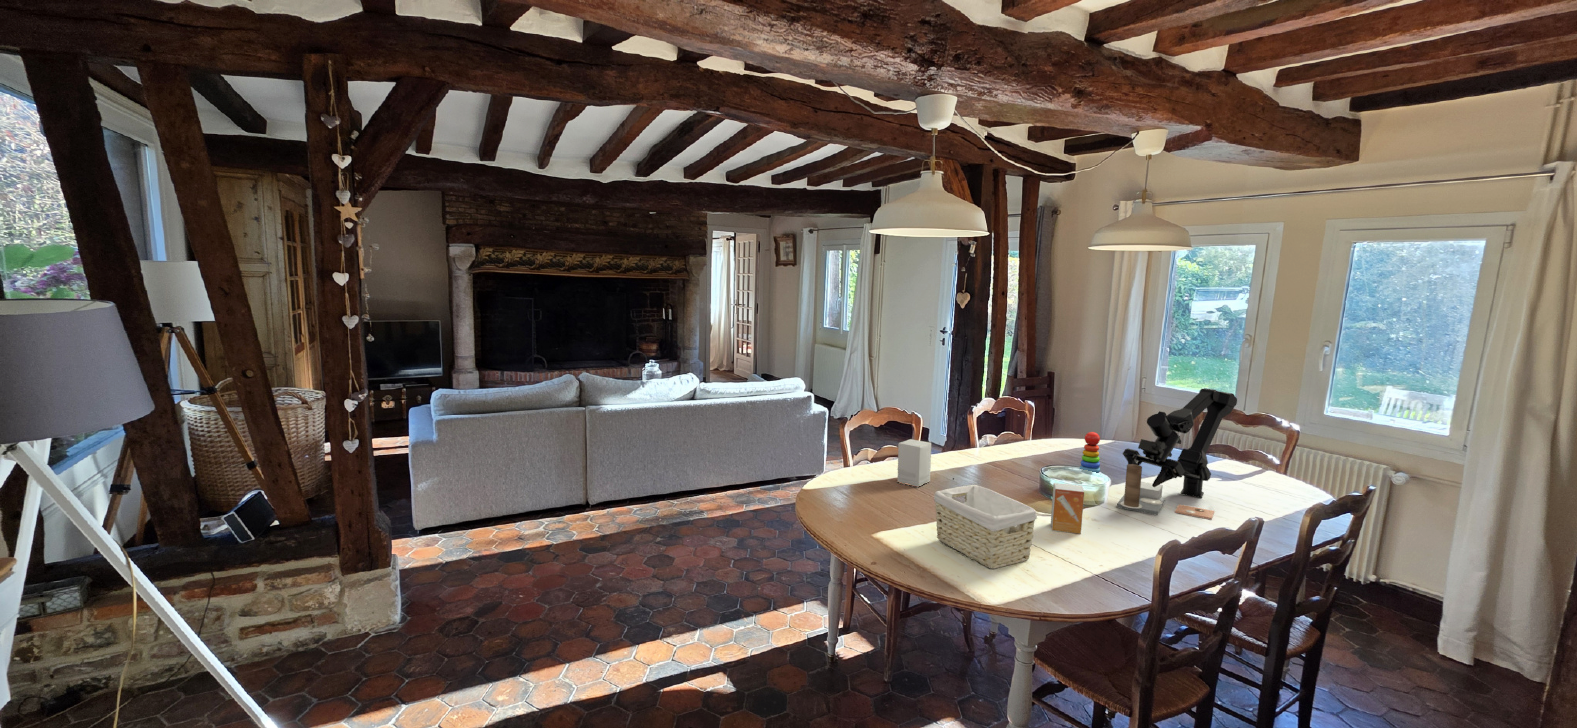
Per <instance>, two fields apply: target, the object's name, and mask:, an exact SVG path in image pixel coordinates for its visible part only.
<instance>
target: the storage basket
mask: <svg viewBox="0 0 1577 728" xmlns="http://www.w3.org/2000/svg"><path fill="white" fill-rule="evenodd" d="M963 496H964V499H965V500H964V502H960V501H958V500H955V499H954V498H961V497H963ZM933 500H934V502H935V503H934V504H935V512H936V513H935V515H936V517H935V518H936V531H937V532H936V533H937V535H936V537H937V539H938V540H939V541H940V542H942V543H944V544H946V545H947V546H948V547H951V548H953V549H954V550H956V551H959V552H960V553H961V554H963V555H965V556H966V557H968V558H969V559H971V560H974V561H976V562H978V563H980V564H981V565H983V566H985V567H987V568H989V569H993V570H994V569H999V568H1002V567H1006V566H1011V565H1014V564H1015V565H1016V564H1018V563H1022V562H1025V561H1027V560H1029V559H1030V555H1031V550H1032V549H1031V547H1032V544H1033V541H1032V540H1033V538H1034V528H1035V522H1036V520H1037V519H1038V517H1037V516H1038V515H1037V511H1036V510H1035V508H1034V507H1031V506H1029V505H1028V504H1025V503H1022V502H1021V501H1018V500H1016V499H1013V498H1012V497H1011V498H1010V497H1008V496H1007V495H1006V496H1005V495H1004V494H1001V493H999V492H996V491H995V490H992V489H990V488H987V487H983V486H981V485H976V484H971V485H964V486H963V485H962V486H956V487H952V488H951V487H950V488H946V489H942V490H937V491H935V492H934V496H933Z"/></svg>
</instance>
